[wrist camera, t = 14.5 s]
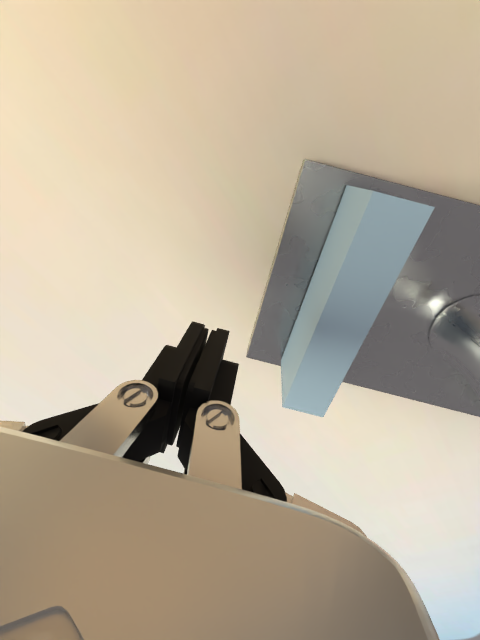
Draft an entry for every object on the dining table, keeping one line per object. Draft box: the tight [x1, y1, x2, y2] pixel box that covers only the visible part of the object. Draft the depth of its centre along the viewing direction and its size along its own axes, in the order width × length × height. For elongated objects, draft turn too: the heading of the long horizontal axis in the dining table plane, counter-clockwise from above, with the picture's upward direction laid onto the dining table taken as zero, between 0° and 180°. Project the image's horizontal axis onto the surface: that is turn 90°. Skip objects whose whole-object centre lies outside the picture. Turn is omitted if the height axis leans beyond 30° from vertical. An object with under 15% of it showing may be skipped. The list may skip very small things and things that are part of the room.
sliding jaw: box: [281, 185, 435, 417], centre depth 19 cm, size 3×14×6 cm, turn 167°
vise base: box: [246, 159, 480, 417], centre depth 20 cm, size 26×16×8 cm, turn 77°
